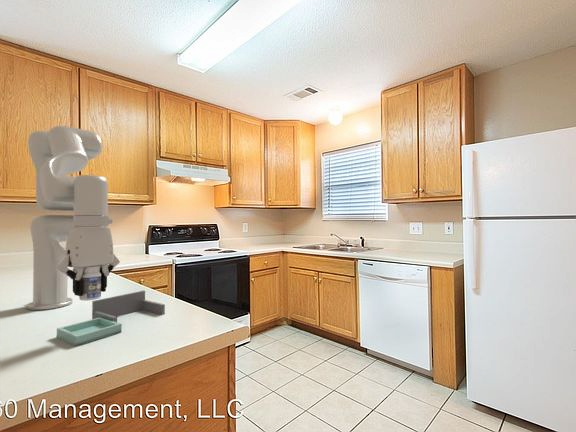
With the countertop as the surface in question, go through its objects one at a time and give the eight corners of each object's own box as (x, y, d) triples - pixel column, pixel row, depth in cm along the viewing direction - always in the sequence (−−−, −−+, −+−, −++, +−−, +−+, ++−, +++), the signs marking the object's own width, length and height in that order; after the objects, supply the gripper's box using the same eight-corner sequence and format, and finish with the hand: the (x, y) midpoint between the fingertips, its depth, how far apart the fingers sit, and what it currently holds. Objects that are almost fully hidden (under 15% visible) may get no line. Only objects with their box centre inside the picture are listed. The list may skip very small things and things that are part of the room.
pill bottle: (90, 301, 76) (90, 267, 76) (74, 300, 77) (74, 267, 77) (105, 296, 81) (105, 265, 81) (90, 296, 82) (90, 264, 82)
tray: (56, 337, 77) (56, 328, 77) (100, 325, 86) (100, 317, 86) (76, 346, 72) (76, 336, 72) (121, 332, 81) (121, 323, 81)
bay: (92, 321, 89) (92, 301, 89) (143, 308, 103) (143, 290, 103) (113, 329, 83) (113, 306, 83) (164, 313, 97) (164, 294, 97)
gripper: (115, 222, 89) (115, 285, 88) (45, 223, 74) (44, 298, 74) (130, 222, 85) (130, 288, 84) (59, 223, 70) (58, 302, 70)
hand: (90, 292), depth 79 cm, fingers closed on pill bottle, 4 cm apart
